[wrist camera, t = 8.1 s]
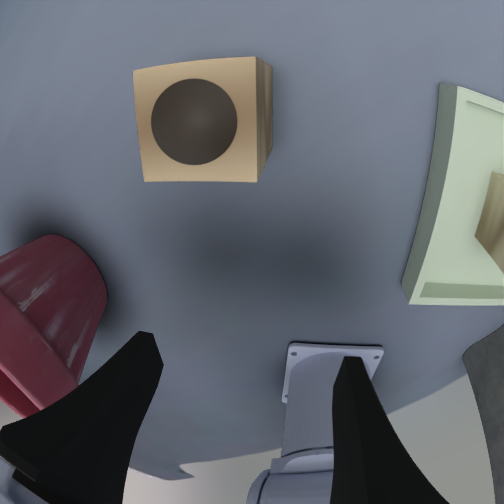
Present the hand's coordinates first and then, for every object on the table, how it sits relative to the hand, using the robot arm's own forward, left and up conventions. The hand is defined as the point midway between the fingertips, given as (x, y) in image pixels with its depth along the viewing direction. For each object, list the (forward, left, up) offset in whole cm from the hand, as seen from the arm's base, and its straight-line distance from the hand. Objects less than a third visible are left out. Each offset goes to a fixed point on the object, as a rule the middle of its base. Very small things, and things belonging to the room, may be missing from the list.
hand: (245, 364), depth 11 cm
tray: (+4, -16, -9) cm, 19 cm away
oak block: (+8, +2, -10) cm, 13 cm away
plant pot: (-5, +18, -10) cm, 21 cm away
